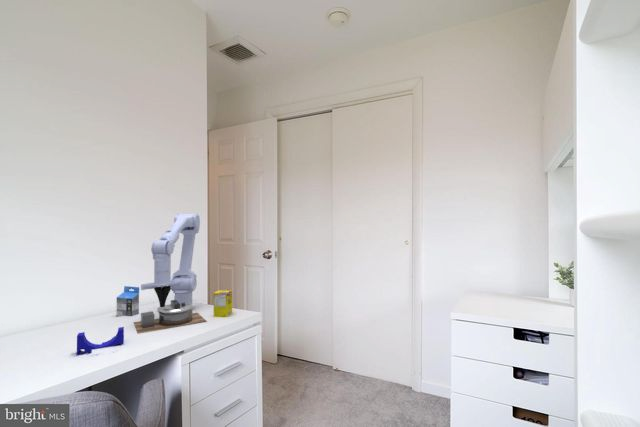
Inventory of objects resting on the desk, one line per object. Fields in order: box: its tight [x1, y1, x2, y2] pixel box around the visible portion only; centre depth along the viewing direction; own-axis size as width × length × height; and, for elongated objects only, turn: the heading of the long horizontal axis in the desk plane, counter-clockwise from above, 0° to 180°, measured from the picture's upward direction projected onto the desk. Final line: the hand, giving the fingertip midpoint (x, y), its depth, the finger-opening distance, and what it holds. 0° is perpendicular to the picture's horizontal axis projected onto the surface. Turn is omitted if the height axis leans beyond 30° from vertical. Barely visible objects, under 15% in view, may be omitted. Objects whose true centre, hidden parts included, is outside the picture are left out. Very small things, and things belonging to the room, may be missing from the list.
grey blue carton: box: [116, 285, 140, 318], centre depth 140 cm, size 9×4×12 cm, turn 71°
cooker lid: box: [156, 299, 193, 314], centre depth 129 cm, size 13×13×3 cm
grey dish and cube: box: [140, 308, 193, 328], centre depth 127 cm, size 12×18×4 cm, turn 124°
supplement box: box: [213, 289, 233, 318], centre depth 138 cm, size 6×6×11 cm
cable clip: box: [76, 326, 125, 356], centre depth 103 cm, size 12×4×6 cm, turn 119°
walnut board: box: [133, 312, 208, 335], centre depth 128 cm, size 16×24×1 cm, turn 124°
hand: (162, 306), depth 126 cm, fingers closed
